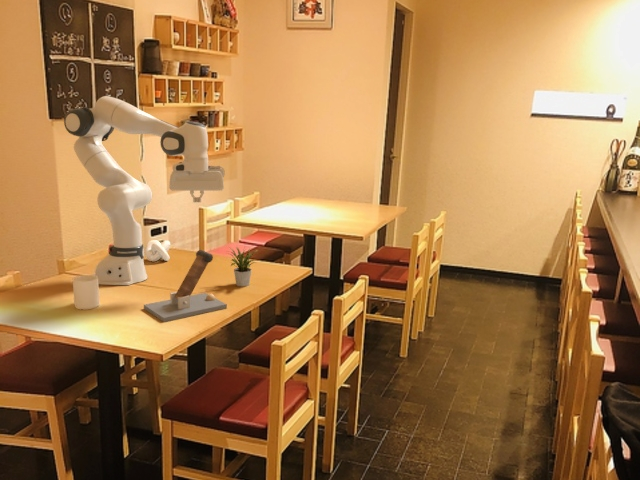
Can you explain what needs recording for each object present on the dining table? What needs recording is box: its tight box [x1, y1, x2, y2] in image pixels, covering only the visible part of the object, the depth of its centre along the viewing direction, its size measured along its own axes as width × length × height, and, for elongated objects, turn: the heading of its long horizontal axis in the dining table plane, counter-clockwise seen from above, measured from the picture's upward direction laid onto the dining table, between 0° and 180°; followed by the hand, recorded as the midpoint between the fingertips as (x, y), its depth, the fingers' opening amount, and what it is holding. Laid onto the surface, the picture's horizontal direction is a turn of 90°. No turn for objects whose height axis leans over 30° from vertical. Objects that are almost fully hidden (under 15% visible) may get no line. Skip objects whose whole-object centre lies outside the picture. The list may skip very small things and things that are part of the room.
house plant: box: [225, 245, 258, 287], centre depth 239 cm, size 14×14×16 cm
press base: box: [143, 291, 228, 323], centre depth 211 cm, size 24×16×6 cm, turn 129°
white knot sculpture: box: [144, 239, 171, 263], centre depth 274 cm, size 11×12×9 cm
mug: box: [72, 274, 100, 311], centre depth 212 cm, size 12×8×10 cm
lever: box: [175, 249, 214, 299], centre depth 211 cm, size 3×6×19 cm
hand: (197, 202), depth 228 cm, fingers closed
